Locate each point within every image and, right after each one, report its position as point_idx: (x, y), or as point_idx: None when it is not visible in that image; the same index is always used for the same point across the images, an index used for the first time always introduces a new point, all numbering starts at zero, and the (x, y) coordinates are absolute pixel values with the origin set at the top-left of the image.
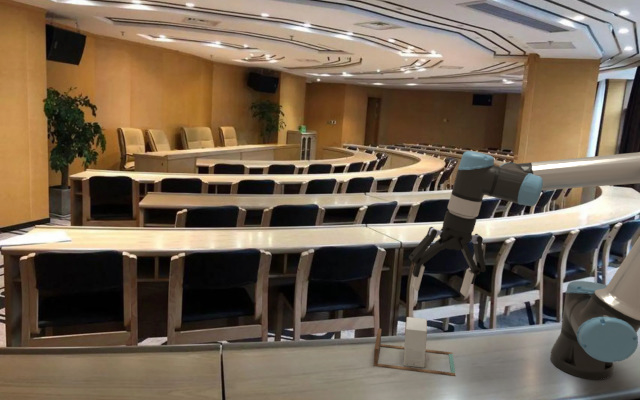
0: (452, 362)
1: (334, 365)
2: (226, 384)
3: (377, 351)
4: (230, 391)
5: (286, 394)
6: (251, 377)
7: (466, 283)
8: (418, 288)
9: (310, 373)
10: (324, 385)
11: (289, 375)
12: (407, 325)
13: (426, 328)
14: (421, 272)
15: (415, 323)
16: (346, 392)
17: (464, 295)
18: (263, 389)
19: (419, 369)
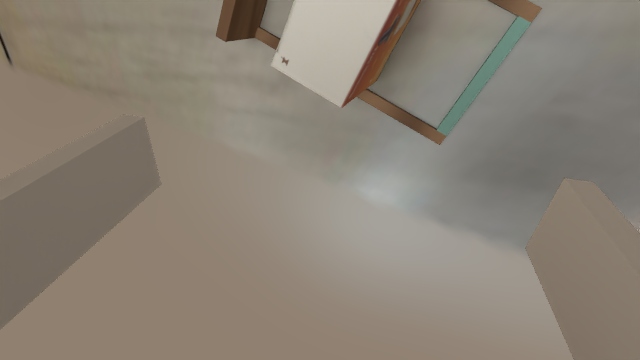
0: (483, 79)
1: (161, 4)
2: (2, 33)
3: (228, 40)
4: (16, 59)
5: (91, 94)
6: (27, 18)
7: (586, 322)
8: (149, 192)
9: (117, 30)
10: (144, 85)
11: (83, 28)
12: (287, 33)
13: (352, 83)
14: (27, 288)
15: (326, 24)
16: (180, 121)
17: (528, 250)
18: (56, 67)
19: None
